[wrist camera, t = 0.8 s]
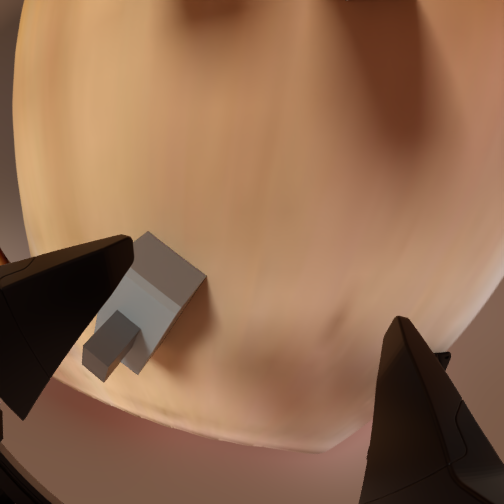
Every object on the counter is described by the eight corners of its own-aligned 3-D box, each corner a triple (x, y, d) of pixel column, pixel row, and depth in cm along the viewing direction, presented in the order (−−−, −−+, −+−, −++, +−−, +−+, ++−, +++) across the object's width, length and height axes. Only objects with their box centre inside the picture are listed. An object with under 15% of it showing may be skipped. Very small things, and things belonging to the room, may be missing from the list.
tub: (160, 344, 37) (141, 369, 33) (119, 311, 36) (97, 334, 32) (206, 275, 28) (181, 307, 24) (148, 231, 27) (116, 255, 23)
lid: (141, 369, 33) (115, 406, 27) (97, 334, 32) (68, 367, 27) (181, 307, 24) (140, 361, 18) (116, 255, 23) (65, 297, 18)
